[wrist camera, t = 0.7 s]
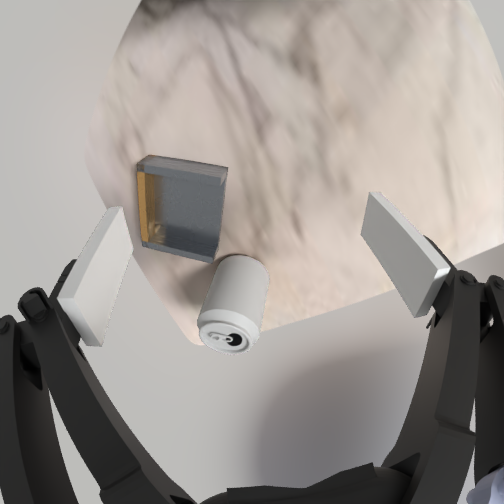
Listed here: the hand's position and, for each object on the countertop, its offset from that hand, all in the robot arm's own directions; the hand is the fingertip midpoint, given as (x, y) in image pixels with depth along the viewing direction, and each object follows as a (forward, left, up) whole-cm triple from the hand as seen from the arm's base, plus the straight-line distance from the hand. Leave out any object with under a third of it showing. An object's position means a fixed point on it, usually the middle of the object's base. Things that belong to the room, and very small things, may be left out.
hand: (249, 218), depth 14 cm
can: (+20, -1, -17) cm, 26 cm away
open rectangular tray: (+11, -10, -17) cm, 22 cm away
